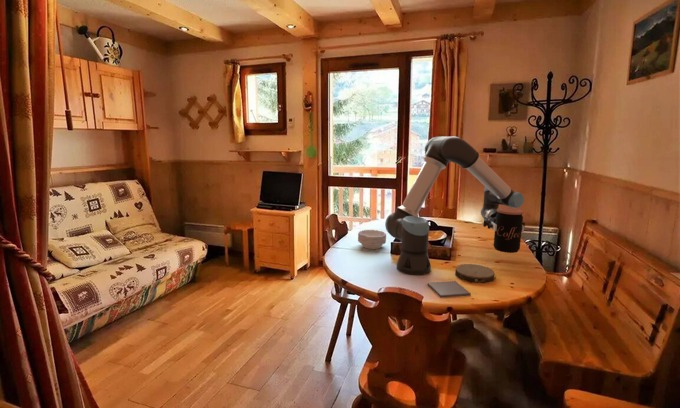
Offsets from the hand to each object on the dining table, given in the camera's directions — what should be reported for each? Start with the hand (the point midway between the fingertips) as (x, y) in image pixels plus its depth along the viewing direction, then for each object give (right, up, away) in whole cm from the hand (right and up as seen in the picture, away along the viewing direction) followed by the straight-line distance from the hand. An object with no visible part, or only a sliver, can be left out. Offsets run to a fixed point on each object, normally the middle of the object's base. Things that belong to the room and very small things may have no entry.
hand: (509, 228), depth 157 cm
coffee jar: (0, -10, +3) cm, 10 cm away
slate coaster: (-32, -23, -16) cm, 42 cm away
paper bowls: (-57, -13, +39) cm, 70 cm away
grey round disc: (-16, -21, -2) cm, 26 cm away
